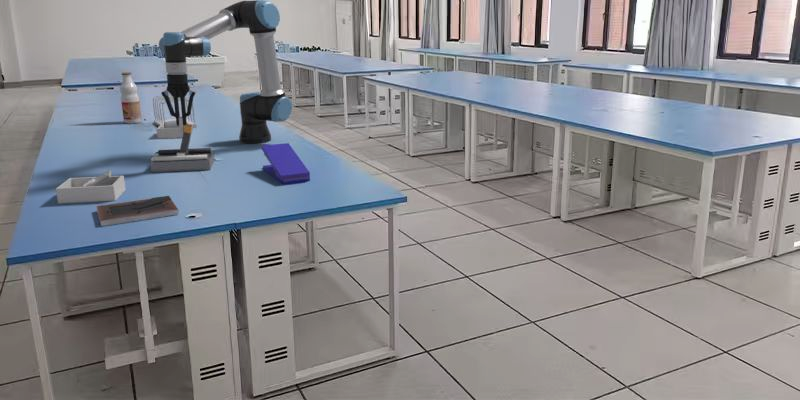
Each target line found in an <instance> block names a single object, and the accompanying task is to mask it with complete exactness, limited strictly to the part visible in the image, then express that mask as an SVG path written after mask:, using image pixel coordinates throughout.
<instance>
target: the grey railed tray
mask: <svg viewBox="0 0 800 400" xmlns="http://www.w3.org/2000/svg"><path fill="white" fill-rule="evenodd" d="M188 150H189V153H204V152H211V151H212V149H211V147H200V148H199V147H198V148H196V147H195V148H188ZM177 153H181V152H180V148H177V149H176V148H175V149H173V148H172V149H159V150H157V155H158V154H177ZM202 159H207V155H188V156H165V157H156V156H152V157H151V158H150V160H151V161H153V162H156V161H179V160H202Z"/></svg>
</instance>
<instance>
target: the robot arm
mask: <svg viewBox="0 0 800 400" xmlns="http://www.w3.org/2000/svg"><path fill="white" fill-rule="evenodd" d="M280 21H281V15H280V12H279V9H278V7H277V6H276V5H275V4H274V2H272V1H270V0H241V1H238V2H235V3H233V4H231V5H228V6H227V7H225V8H222V9H221V10H219V12H218V14H216V15H213V16H212V17H209V18H207V19H205V20H203V21H201V22H199V23H196V24H195V25H192V26H190V27H188V28H186V29H184V30H182V31H170V32H169V31H166V32H164V33H163V35H162V37H161V38H159V39H160V40H159V41H158V48H159V51H160V52H161V53H162V54H163V55H164V61H165V71H166V73H167V74H166V81H167V83H166V84H167V86H166V89H165V90H164V91H163V90H162V91H161V95H162V97H164V98H165V101H166V102H165V104H166V106H167V109H168V112H169V114H170V116H171V117H174V118H175V119H176V124H177V126H180V134H183V133H184V125H186V124H187V122H186V117H187V118H188V116H189V117H190V114H191V115H192V103H193V102H194V98H195V96H196V94H197V92H196V91H195V90H193V89H191V87H190V86H189V80H188V74H187V72H188V69H187V68H188V67H187V66H188V65H187V58H189V57H204V56H208V55H209V54H210V53H211V51H212V50H211V49H212V47H211V46H212V45H211V42H210V39H212V38H214V37H217V36H219V35H221V34H223V33H225V32H227V31H229V32H232V31H234V30H238V29H242V28H243V29H248V31H249V34H250V36H252V37H253V39H254V45H255V52H256V60H257V66H258V70H259V71H258V72H259V77H260V78H259V79H260V84H261V91H254V92H248V93H242V94H241V95H240V96H239V108H240V117H241V118H240V119H241V128H240V132H239V136H238V139H239V142H240V143H243V144H260V143H261V144H262V143H267V142H269V141H272V134H271V132H270V128H269V126H268V123H267V121H268V122H275V123H278V122H279V123H280V122H281V123H282V122H286V120H288V119H289V118H290V115H291V114H292V110H293V103H292V100H291V99H290V98H289V97H288V96H286V91H285V90H284V89H283V88H282V87H281V80H280V78H281V77H280V73H279V66H278V58H277V51H276V44H275V37H274V35H275V34H276V32H277V27H278V26H279V24H280V23H279V22H280ZM187 94H188V96H189V97H188V99H189V103H188V102H187V105H188V109H187V106H186V101H185V98H186V96H187ZM168 95H172V96H173V98H172V99H174V101H173V104H174V107H173V105H172V102H171V101H170V99H169V96H168ZM178 97H179V98H180V99H178ZM178 100H181V101H180V104H179V101H178ZM193 104H194V103H193ZM180 107H181V114H180Z"/></svg>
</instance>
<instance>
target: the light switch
mask: <svg viewBox="0 0 800 400" xmlns="http://www.w3.org/2000/svg"><path fill="white" fill-rule="evenodd" d="M112 173H113V172H112V171H111V169H109V170H107V171H105V172H104V173H102V174H100V175H99V176H96V177H97V178H95V179H92V180H90V181H88V182H87V183H85V184H84V185H83V186H82V187H90V186H98V185H100V184H102V183H103V182H105V181H106V180H108V179H110V178H111V176H112Z"/></svg>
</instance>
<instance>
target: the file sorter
mask: <svg viewBox="0 0 800 400" xmlns="http://www.w3.org/2000/svg"><path fill="white" fill-rule="evenodd" d="M168 96H169V99H170V101H171V103H172V102H174V99H173V96H172V95H171V94H169V95H168ZM162 102H163V103H162ZM178 102H181V100H180V98H179V97H178ZM188 103H189V98H187V97H185V107H186V110H187V109H188ZM161 104H162V105H161ZM165 104H166V101H165V98H164V97H163V96H162V94H161V95H155V96H153V98H152V106H153V107H152V108H153V112H154V120H153V123H154V125H156V126H158V127H159V126H160V125H161V124H163V123H165V122H168V121H176V118H168V119H165V111H164V105H165ZM191 111H192V113H191V114H190V115H189V116H187V117H186V122H187V123H189V122H190V125H193V128H196V127H198V126H197V122H196V119H195V111H194V103H192V109H191ZM192 116H193V117H192ZM192 118H193V120H192ZM195 122H196V123H195Z"/></svg>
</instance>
